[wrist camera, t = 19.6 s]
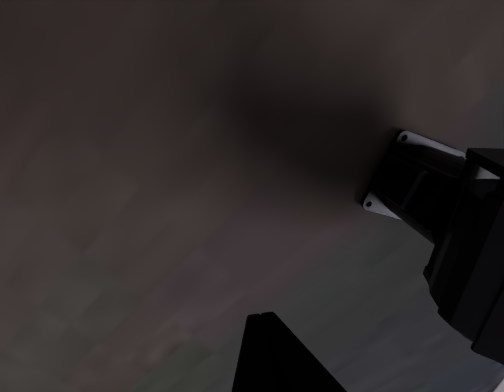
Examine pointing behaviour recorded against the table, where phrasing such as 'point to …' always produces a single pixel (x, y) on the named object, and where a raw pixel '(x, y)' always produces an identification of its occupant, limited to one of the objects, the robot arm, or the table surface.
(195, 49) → the table surface
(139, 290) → the table surface
